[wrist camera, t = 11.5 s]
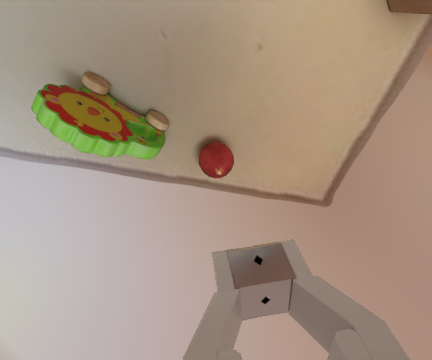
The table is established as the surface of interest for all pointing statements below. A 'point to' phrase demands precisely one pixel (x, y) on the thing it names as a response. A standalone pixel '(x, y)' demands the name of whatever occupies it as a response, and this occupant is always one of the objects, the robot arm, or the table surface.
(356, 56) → the table surface
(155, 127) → the toy lion
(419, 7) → the wooden block
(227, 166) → the onion
